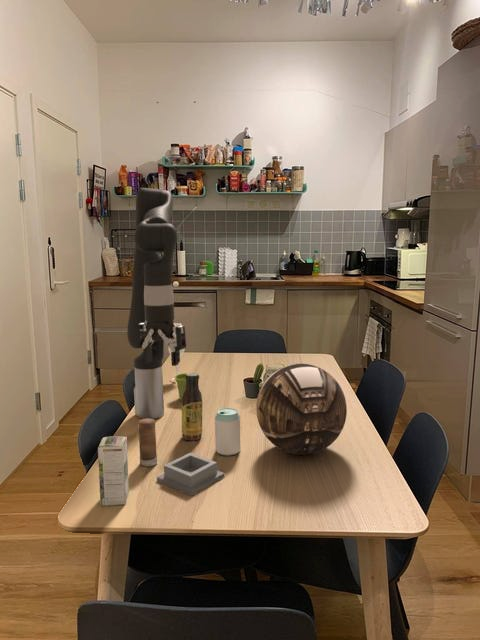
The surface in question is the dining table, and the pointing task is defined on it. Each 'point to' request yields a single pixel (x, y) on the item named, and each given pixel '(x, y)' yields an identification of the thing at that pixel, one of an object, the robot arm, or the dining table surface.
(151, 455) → the handle
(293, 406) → the sphere
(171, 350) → the champagne flute
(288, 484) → the dining table surface
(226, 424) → the can
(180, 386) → the plant pot
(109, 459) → the syrup box
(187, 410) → the sauce bottle
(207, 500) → the dining table surface
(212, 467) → the holder
